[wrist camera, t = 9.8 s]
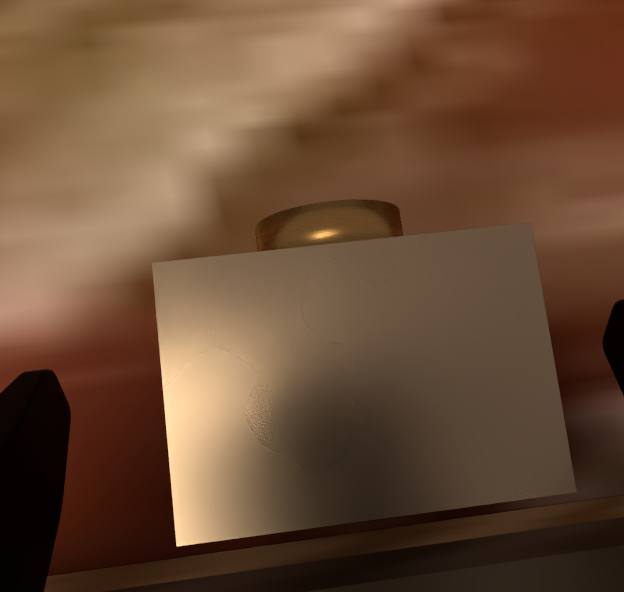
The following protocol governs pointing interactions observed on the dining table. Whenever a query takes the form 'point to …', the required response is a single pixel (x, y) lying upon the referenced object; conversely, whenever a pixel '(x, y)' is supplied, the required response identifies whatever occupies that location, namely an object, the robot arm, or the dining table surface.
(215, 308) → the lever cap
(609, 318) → the robot arm
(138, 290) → the dining table surface
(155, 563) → the tan piece
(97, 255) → the dining table surface
